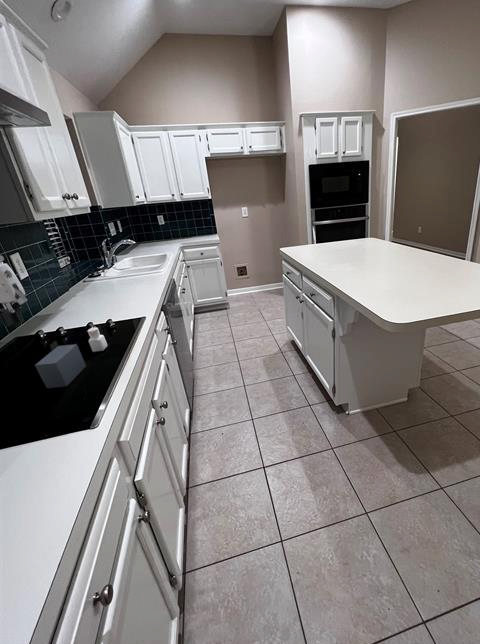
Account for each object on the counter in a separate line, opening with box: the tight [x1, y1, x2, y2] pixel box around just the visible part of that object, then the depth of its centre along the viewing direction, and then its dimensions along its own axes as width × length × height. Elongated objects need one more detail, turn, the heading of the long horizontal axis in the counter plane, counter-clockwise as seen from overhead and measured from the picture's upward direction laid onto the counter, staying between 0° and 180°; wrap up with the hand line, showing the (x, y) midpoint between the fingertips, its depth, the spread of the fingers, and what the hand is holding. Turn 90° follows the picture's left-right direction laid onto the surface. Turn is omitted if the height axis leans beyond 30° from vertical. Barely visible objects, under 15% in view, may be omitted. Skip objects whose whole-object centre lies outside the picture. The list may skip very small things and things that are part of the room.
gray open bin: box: [34, 343, 87, 389], centre depth 98 cm, size 6×11×10 cm, turn 2°
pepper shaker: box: [87, 327, 108, 353], centre depth 113 cm, size 4×4×10 cm
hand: (15, 323), depth 91 cm, fingers closed
